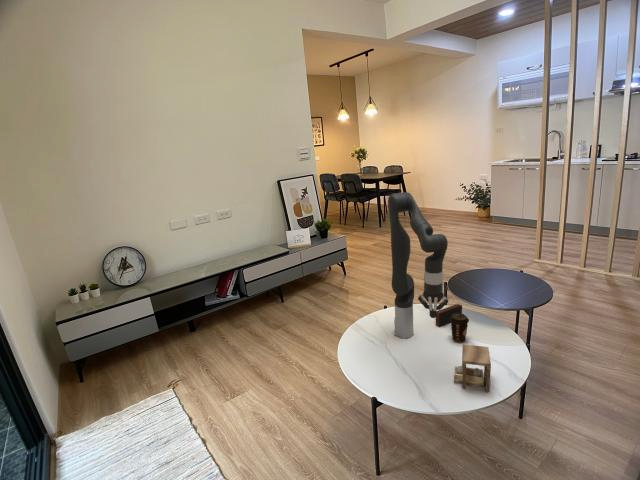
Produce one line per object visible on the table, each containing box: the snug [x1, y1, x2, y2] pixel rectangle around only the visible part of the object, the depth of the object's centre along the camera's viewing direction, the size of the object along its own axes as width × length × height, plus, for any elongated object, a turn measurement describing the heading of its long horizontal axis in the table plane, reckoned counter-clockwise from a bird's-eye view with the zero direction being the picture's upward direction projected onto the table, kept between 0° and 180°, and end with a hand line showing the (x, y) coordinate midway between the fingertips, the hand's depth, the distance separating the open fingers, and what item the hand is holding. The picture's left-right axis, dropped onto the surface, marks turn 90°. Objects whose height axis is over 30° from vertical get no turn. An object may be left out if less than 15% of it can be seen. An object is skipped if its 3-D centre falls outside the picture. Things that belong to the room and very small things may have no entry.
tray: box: [453, 365, 485, 388], centre depth 148 cm, size 11×6×6 cm, turn 70°
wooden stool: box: [461, 343, 492, 393], centre depth 146 cm, size 10×12×13 cm
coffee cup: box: [450, 312, 470, 344], centre depth 176 cm, size 9×8×13 cm
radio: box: [435, 302, 463, 328], centre depth 192 cm, size 19×3×15 cm, turn 115°
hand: (432, 317), depth 154 cm, fingers closed
